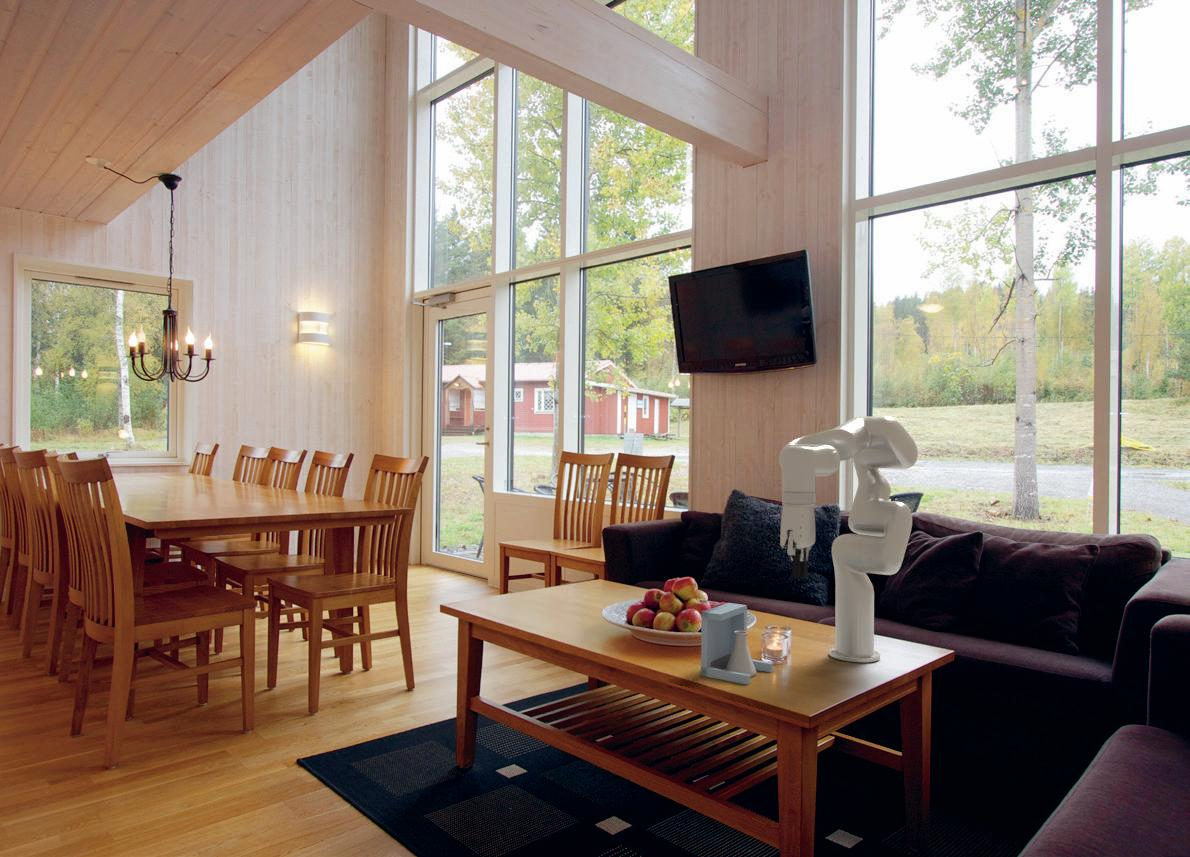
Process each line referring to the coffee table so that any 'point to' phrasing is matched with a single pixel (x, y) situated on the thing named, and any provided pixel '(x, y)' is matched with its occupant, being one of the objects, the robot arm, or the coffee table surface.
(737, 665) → the flask
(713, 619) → the blue frame
